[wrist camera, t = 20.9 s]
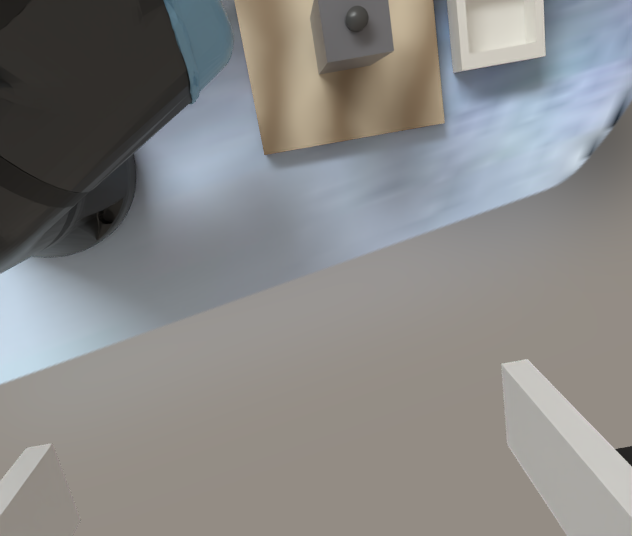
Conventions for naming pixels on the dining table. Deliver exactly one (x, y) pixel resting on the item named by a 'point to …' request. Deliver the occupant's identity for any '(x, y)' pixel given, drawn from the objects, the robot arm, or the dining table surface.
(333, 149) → the dining table surface
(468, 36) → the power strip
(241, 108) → the dining table surface
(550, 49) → the dining table surface
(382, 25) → the gray knobbed block
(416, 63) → the oak board
